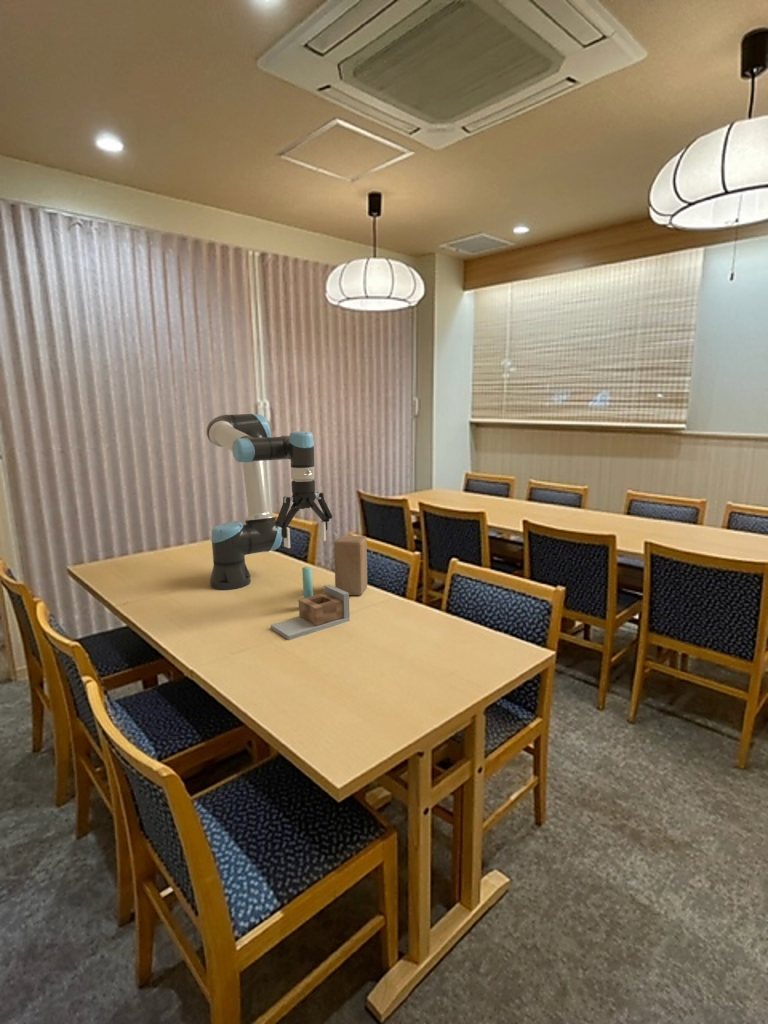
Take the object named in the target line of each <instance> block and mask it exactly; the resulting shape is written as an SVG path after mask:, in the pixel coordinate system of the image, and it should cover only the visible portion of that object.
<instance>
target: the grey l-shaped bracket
mask: <svg viewBox="0 0 768 1024" xmlns="http://www.w3.org/2000/svg"><path fill="white" fill-rule="evenodd" d="M323 589H324V592H323V593H327V594H329V595H331V596H333V597H336V598H338V599H340V600H342V601H343V618H340V619H336V620H333V621H330V622H327V623H323V624H320V625H317V626H316V625H314V624H313V623H311V622H309V621H307V620H305V619H304V618H302V617H300V616H299V615H298V616H296V617H293V618H289V619H285V620H283V621H279V622H275V623H272V624H270V629H271V630H273V631H274V632H275V633H277V634H279V635H280V636H282V637H284V638H285V639H287V640H288V641H290V640H293V639H296V638H300V637H302V636H305V635H308V634H311V633H315V632H317V631H322V630H324V629H327V628H331V627H334V626H336V625H340V624H343V623H346V622H349V621H350V620H351V619H350V615H351V614H350V595H349V593H348V592H345V591H343V590H341V589H338V588H336V587H335V586H333V585H331V584H325V585H324V587H323Z"/></svg>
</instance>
